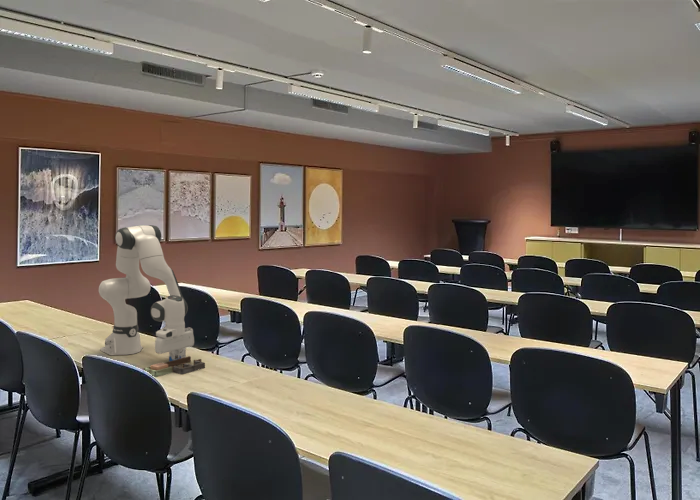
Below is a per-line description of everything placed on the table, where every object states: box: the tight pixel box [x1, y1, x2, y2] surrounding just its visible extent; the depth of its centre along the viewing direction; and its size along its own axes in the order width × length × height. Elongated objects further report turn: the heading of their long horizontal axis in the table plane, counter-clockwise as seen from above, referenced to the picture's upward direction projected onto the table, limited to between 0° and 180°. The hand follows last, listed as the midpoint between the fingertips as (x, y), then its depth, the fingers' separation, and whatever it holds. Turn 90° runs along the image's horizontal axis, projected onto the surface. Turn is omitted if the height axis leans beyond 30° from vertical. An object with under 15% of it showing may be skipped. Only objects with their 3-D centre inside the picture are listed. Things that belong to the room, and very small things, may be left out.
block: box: [149, 362, 168, 371], centre depth 267 cm, size 5×6×4 cm
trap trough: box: [143, 355, 206, 378], centre depth 272 cm, size 15×26×2 cm, turn 145°
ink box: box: [168, 347, 187, 362], centre depth 288 cm, size 8×5×12 cm, turn 168°
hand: (175, 358), depth 275 cm, fingers closed
